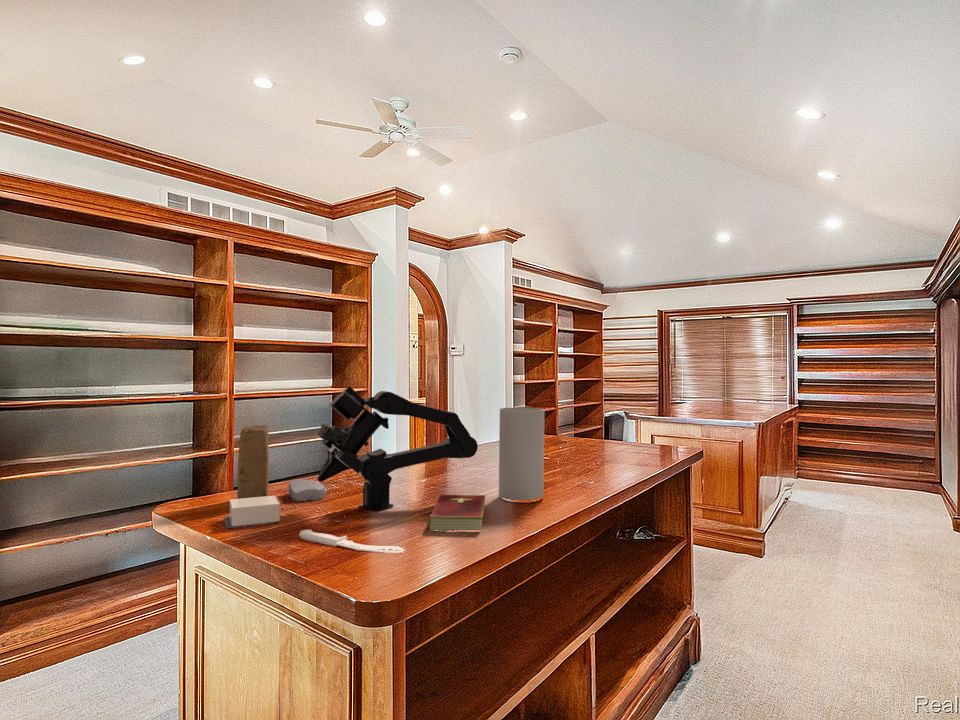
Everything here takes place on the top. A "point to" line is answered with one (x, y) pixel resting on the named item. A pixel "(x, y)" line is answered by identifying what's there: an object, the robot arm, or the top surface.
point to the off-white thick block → (254, 510)
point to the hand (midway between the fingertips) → (318, 480)
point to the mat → (228, 525)
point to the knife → (345, 542)
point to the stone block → (306, 490)
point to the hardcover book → (457, 513)
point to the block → (253, 462)
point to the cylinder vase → (521, 453)
